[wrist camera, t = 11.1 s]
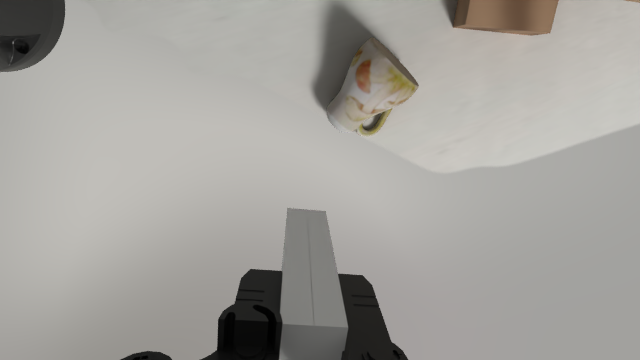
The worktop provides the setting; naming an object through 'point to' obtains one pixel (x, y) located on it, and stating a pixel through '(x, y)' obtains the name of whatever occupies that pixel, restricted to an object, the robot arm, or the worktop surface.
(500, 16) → the slab
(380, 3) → the worktop surface
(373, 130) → the mug
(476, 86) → the worktop surface
